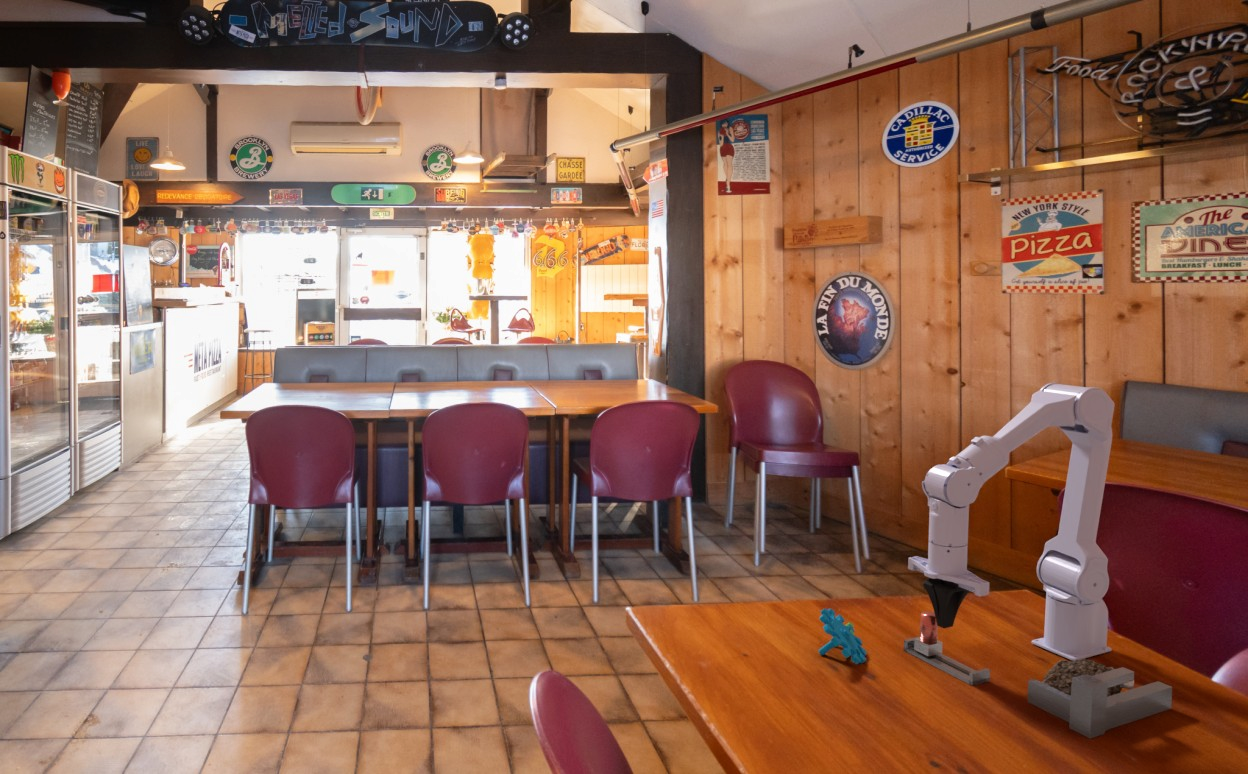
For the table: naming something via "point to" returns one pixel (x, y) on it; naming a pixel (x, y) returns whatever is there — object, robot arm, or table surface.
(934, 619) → the lever
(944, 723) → the table surface
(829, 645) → the gear
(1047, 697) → the grey bracket piece
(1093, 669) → the concrete sample
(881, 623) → the table surface
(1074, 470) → the robot arm
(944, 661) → the lever rail
